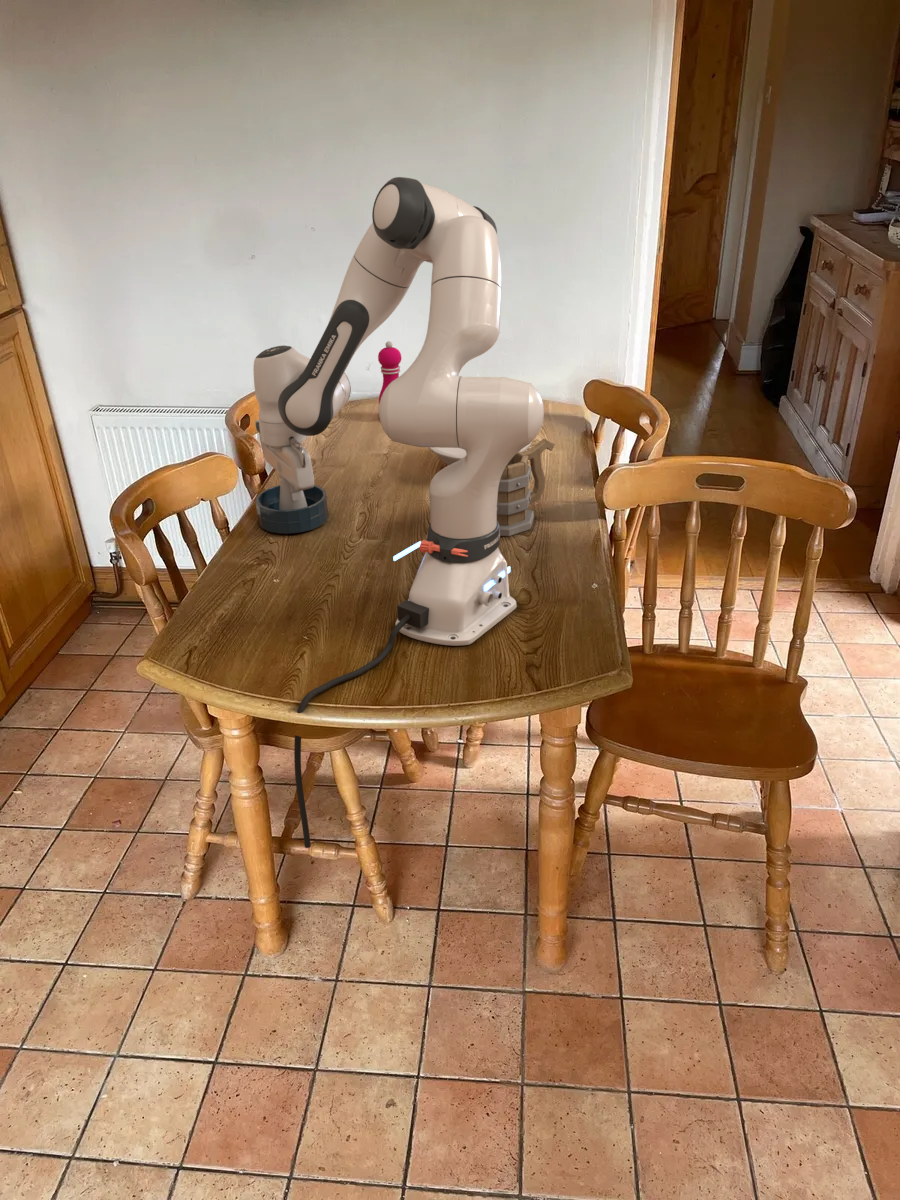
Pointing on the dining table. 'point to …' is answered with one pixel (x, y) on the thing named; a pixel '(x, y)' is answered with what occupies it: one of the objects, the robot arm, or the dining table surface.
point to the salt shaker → (289, 495)
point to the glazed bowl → (291, 511)
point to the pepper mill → (389, 365)
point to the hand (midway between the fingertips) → (291, 495)
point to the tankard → (520, 490)
